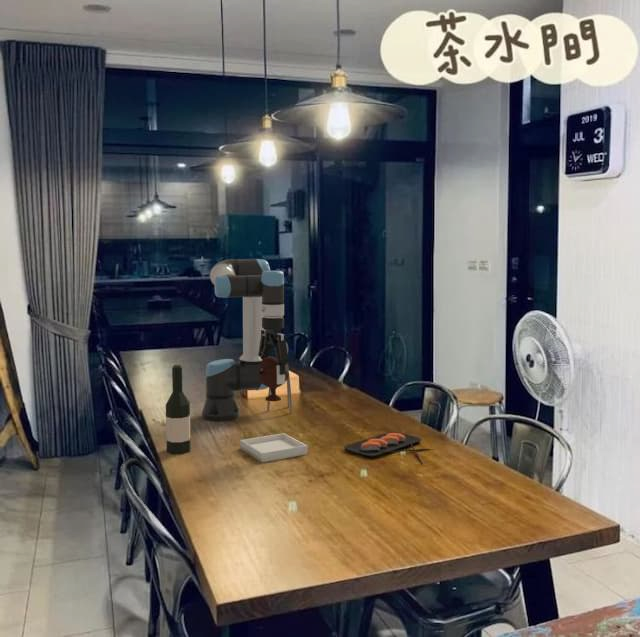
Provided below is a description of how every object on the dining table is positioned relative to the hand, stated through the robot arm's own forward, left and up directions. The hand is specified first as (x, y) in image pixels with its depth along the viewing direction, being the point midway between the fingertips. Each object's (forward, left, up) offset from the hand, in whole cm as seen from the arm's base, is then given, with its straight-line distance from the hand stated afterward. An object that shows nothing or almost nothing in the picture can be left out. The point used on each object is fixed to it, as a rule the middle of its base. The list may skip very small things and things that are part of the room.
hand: (273, 380), depth 230 cm
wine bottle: (-17, -28, -25) cm, 41 cm away
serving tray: (0, 0, -25) cm, 25 cm away
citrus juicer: (-49, +30, -25) cm, 63 cm away
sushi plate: (+22, +38, -26) cm, 51 cm away
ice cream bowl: (0, 0, -7) cm, 7 cm away
